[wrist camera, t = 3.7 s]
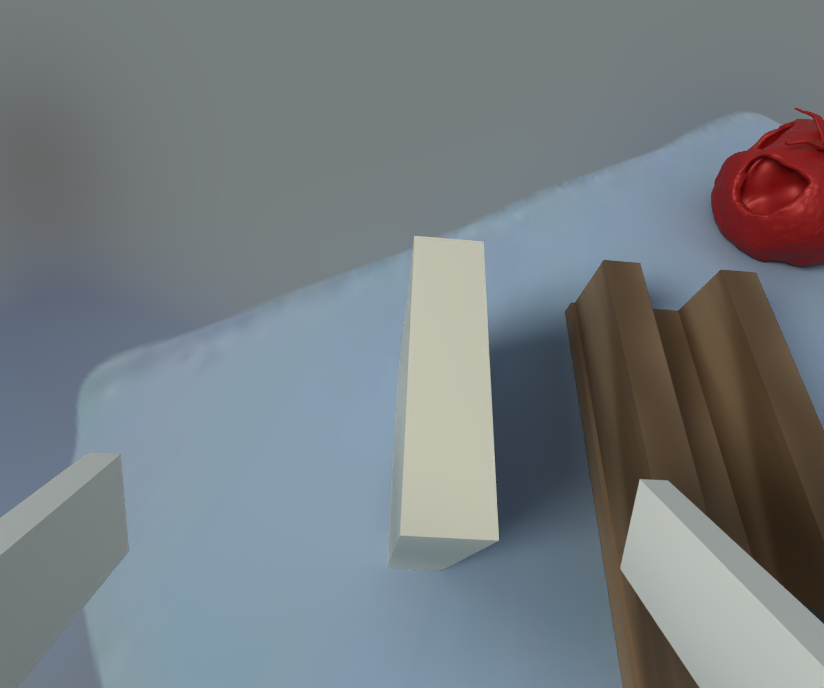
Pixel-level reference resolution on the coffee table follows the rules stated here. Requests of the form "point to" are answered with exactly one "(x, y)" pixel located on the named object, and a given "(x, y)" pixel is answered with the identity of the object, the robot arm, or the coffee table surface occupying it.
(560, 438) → the coffee table surface
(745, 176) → the pomegranate
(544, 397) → the coffee table surface
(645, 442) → the rack
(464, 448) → the cream rectangular block
